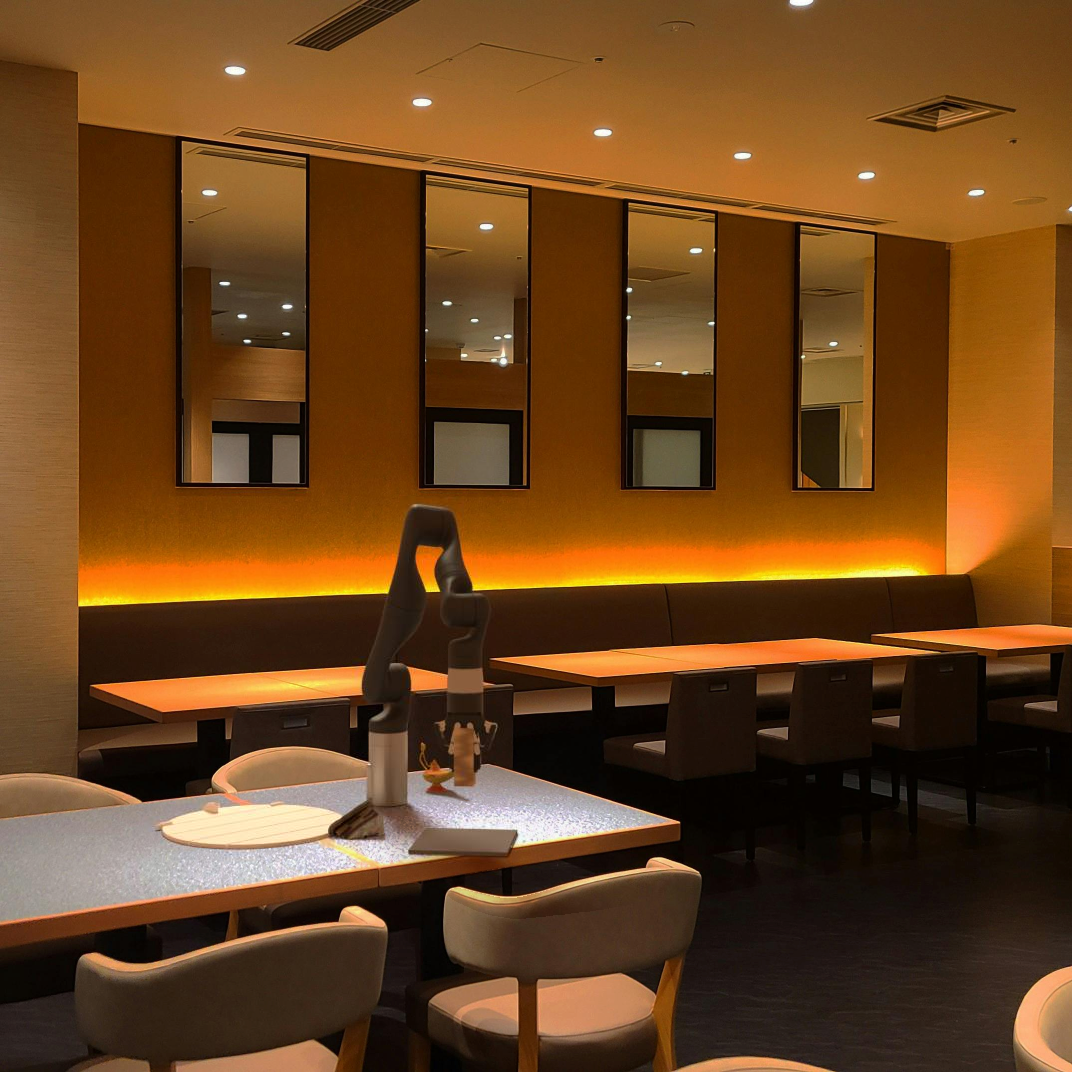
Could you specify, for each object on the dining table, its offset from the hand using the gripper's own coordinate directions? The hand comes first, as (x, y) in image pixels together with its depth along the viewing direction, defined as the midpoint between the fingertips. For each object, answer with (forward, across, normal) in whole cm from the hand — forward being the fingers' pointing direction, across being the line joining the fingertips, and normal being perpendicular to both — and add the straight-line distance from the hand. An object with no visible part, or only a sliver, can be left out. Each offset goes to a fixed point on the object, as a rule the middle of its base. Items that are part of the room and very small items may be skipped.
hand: (465, 771), depth 272 cm
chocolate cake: (+15, -23, +5) cm, 28 cm away
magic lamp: (+15, -14, +54) cm, 58 cm away
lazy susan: (+16, -48, +11) cm, 52 cm away
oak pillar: (+3, 0, 0) cm, 3 cm away
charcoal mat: (+15, 0, 0) cm, 15 cm away
